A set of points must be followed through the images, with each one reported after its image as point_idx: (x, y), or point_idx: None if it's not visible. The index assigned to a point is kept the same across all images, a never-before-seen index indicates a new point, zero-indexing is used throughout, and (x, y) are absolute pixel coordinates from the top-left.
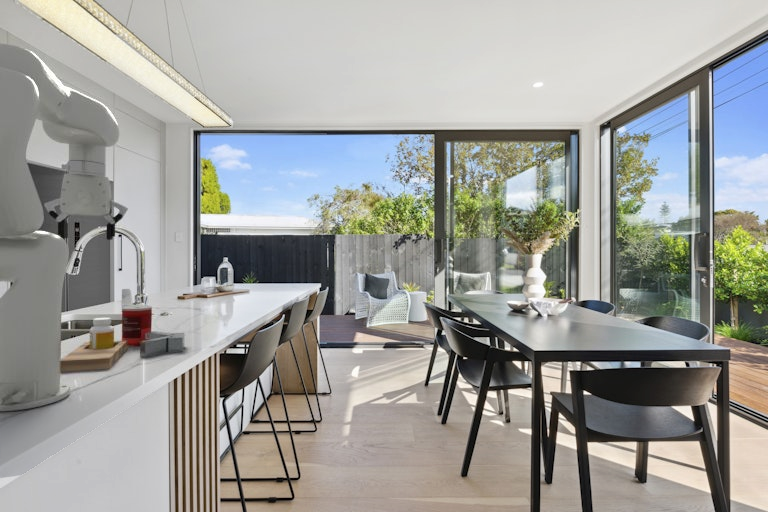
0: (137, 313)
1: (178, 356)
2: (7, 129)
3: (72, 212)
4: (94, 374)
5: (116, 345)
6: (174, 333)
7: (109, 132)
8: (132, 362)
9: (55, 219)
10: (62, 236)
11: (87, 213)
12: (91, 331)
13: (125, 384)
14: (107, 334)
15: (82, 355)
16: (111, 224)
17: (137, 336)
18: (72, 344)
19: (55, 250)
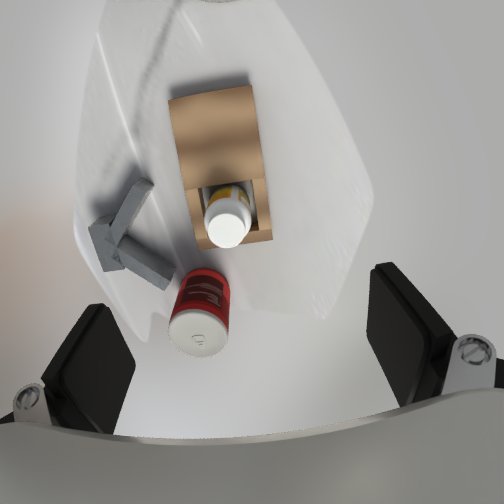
0: (185, 306)
1: (92, 183)
2: None
3: (393, 429)
4: (183, 68)
5: (200, 207)
6: (117, 265)
7: None
8: (150, 142)
9: (489, 357)
10: (383, 268)
11: (146, 450)
12: (242, 203)
13: (118, 23)
14: (210, 203)
15: (227, 124)
16: (51, 393)
17: (192, 277)
18: (315, 290)
19: None
